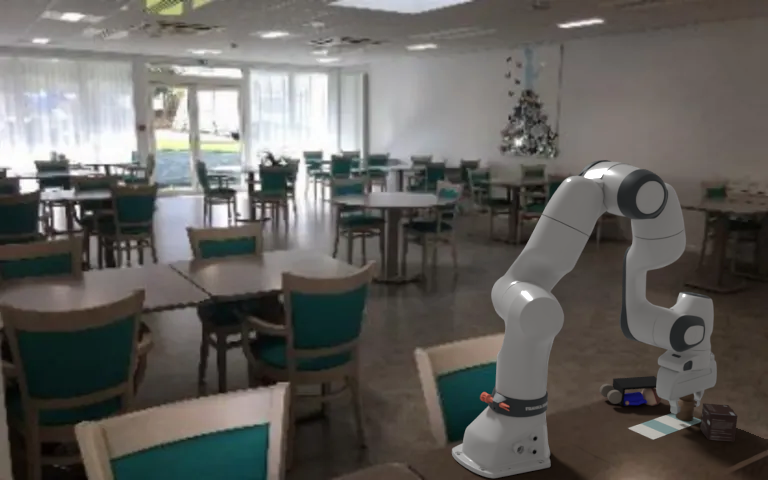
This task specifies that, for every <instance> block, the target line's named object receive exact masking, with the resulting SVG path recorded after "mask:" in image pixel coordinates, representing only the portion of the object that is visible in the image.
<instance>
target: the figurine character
mask: <svg viewBox="0 0 768 480" xmlns="http://www.w3.org/2000/svg"><path fill="white" fill-rule="evenodd" d="M656 384H657V376H656V377H655V375H650V376H649V375H648V376H647V375H646V376H634V377H620V378H619V377H617V378H616V377H615V378H613V379H612V384H610V383H603V384H602V385H601V386H600V387H599V393H600V394H601V396H603V397H604V398H607V400H608V401H609V402H610V403H611V404H614V405H615V404H616V405H617V404H618V405H620V406H622V407H623V406H640V405H642V404H644V405H647V406H658V405H659V404H660V403H661V400H662V398H660V397H658V395H657V393H656ZM627 390H629V391H630V390H642V391H637V392H636V391H635V392H627V393H626V391H627Z"/></svg>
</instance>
